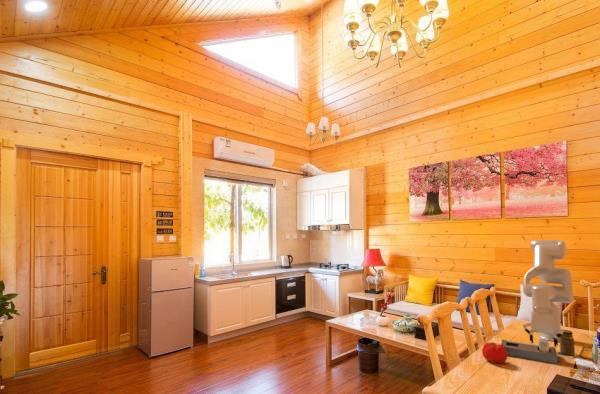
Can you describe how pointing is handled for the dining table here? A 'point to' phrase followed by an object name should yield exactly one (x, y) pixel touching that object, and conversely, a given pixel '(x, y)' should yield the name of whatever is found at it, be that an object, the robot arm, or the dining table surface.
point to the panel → (529, 351)
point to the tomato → (494, 352)
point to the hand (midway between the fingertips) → (543, 344)
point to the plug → (543, 345)
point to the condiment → (567, 344)
